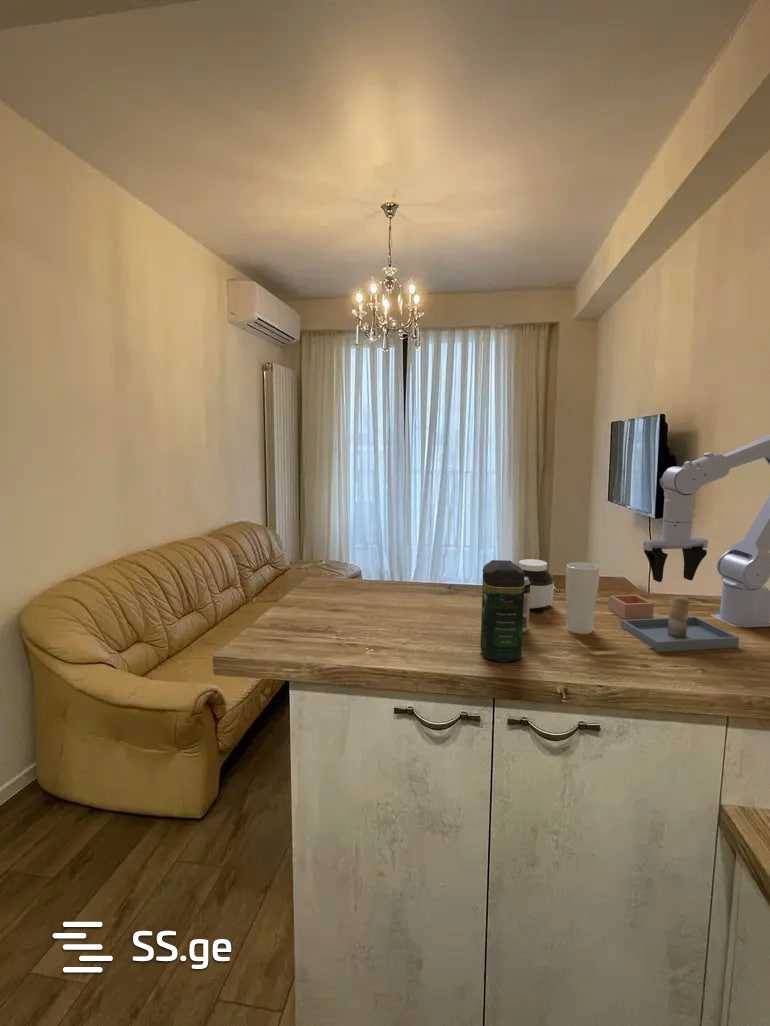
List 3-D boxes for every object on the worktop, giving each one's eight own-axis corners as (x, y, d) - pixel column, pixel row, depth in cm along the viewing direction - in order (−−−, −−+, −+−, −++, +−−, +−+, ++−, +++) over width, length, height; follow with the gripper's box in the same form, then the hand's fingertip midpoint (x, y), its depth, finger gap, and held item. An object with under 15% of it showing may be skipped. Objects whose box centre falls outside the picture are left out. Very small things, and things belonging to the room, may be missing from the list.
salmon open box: (635, 610, 135) (636, 594, 135) (652, 619, 128) (653, 603, 128) (608, 611, 134) (609, 595, 134) (624, 621, 127) (625, 604, 127)
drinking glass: (598, 638, 117) (602, 570, 115) (565, 636, 118) (568, 568, 116) (592, 627, 124) (596, 562, 121) (561, 625, 125) (564, 561, 123)
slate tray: (694, 625, 125) (695, 616, 125) (738, 647, 112) (739, 637, 112) (620, 628, 123) (621, 619, 122) (656, 652, 110) (656, 642, 110)
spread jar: (556, 608, 137) (559, 562, 135) (536, 620, 129) (538, 571, 127) (513, 598, 145) (515, 555, 143) (491, 609, 137) (492, 563, 135)
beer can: (530, 628, 123) (532, 576, 122) (526, 635, 119) (528, 581, 117) (509, 624, 125) (510, 573, 124) (504, 631, 121) (506, 579, 119)
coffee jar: (525, 664, 104) (529, 569, 102) (483, 663, 105) (486, 568, 102) (516, 644, 114) (519, 557, 111) (478, 643, 115) (480, 556, 112)
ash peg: (678, 631, 119) (681, 596, 118) (689, 637, 116) (692, 601, 115) (663, 632, 119) (666, 596, 118) (674, 638, 115) (677, 601, 114)
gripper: (694, 516, 127) (689, 573, 129) (636, 518, 125) (632, 576, 127) (716, 522, 120) (711, 582, 122) (656, 524, 118) (651, 585, 120)
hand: (672, 580), depth 124 cm, fingers open, 7 cm apart
